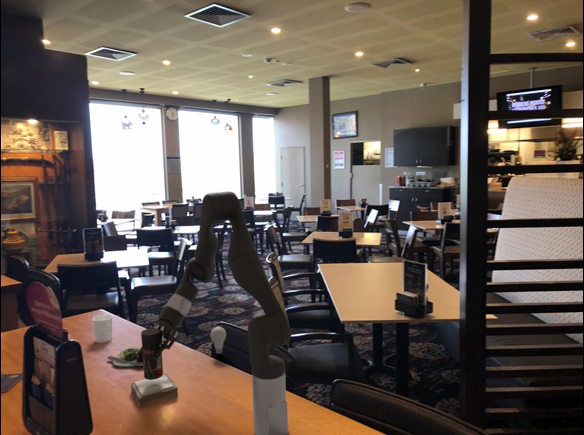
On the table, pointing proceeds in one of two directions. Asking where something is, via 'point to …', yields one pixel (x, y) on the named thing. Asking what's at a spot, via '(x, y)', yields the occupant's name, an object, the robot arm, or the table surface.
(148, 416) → the table surface
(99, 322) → the white cup
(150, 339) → the deodorant
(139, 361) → the salad plate
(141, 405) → the pedestal
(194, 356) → the table surface
